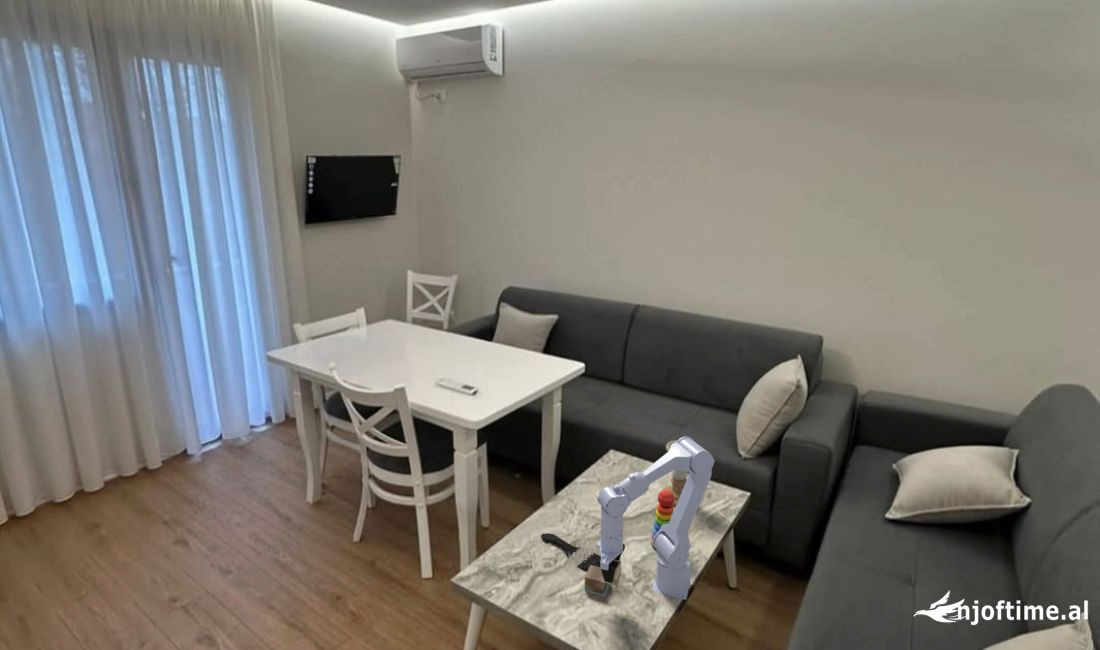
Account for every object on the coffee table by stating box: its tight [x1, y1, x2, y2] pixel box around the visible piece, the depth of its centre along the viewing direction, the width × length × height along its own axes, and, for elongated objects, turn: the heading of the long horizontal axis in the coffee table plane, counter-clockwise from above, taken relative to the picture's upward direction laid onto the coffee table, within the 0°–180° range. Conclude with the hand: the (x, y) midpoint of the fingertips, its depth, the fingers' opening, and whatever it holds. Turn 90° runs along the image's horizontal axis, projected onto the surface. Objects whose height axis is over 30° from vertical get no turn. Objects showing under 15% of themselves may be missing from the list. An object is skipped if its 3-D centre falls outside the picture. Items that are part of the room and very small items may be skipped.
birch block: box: [601, 559, 622, 586], centre depth 151 cm, size 4×4×4 cm
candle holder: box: [662, 439, 688, 507], centre depth 200 cm, size 12×12×20 cm
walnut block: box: [584, 565, 608, 594], centre depth 159 cm, size 5×5×4 cm
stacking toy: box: [650, 489, 675, 549], centre depth 175 cm, size 8×8×19 cm
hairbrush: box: [540, 532, 601, 572], centre depth 174 cm, size 8×4×25 cm
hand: (611, 575), depth 151 cm, fingers closed on birch block, 4 cm apart
